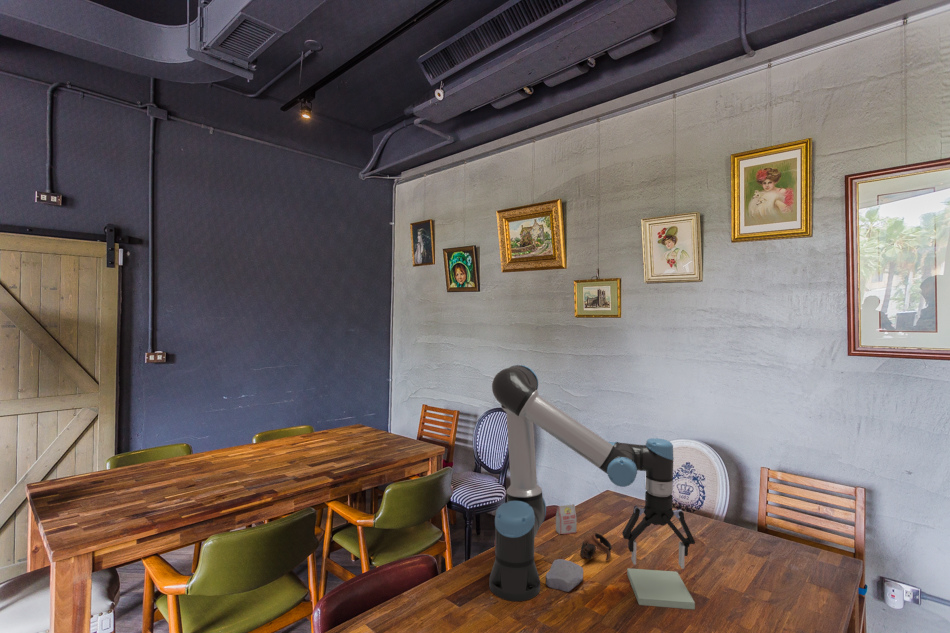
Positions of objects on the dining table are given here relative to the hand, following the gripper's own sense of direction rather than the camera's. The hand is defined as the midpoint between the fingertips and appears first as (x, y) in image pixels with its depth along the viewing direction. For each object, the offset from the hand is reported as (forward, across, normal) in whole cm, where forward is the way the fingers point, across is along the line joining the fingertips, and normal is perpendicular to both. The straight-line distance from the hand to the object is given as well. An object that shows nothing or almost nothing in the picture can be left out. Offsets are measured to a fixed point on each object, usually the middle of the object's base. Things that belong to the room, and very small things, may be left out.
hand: (657, 564), depth 138 cm
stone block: (+8, -22, 0) cm, 23 cm away
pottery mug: (+9, -18, +17) cm, 26 cm away
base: (+8, +1, 0) cm, 8 cm away
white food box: (+9, -24, +36) cm, 44 cm away
